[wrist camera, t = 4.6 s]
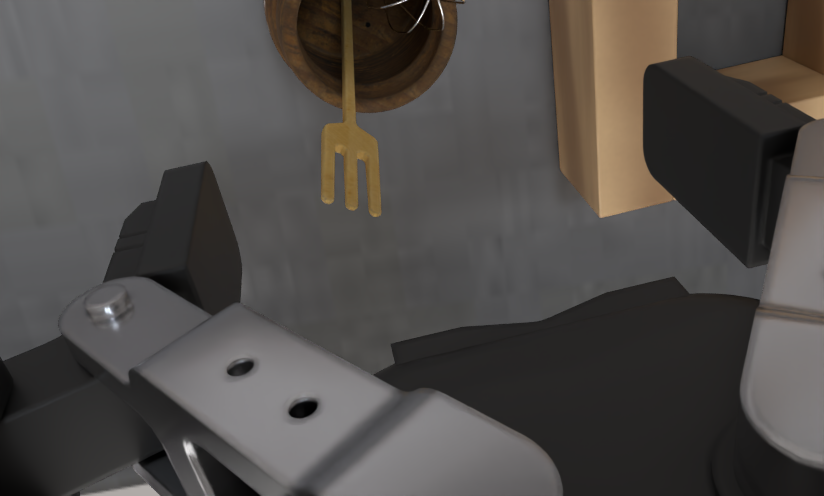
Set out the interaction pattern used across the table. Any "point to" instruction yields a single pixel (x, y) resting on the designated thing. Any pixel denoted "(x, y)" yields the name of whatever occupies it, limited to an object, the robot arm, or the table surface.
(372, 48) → the utensil holder
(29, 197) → the table surface
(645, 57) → the socket block
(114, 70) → the table surface
